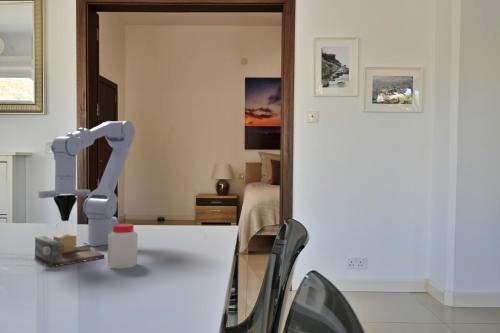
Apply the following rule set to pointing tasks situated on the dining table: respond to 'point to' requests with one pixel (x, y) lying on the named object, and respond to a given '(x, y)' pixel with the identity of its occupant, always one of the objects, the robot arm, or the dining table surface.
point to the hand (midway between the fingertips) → (65, 220)
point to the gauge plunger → (50, 250)
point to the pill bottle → (122, 246)
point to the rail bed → (80, 256)
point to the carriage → (67, 241)
